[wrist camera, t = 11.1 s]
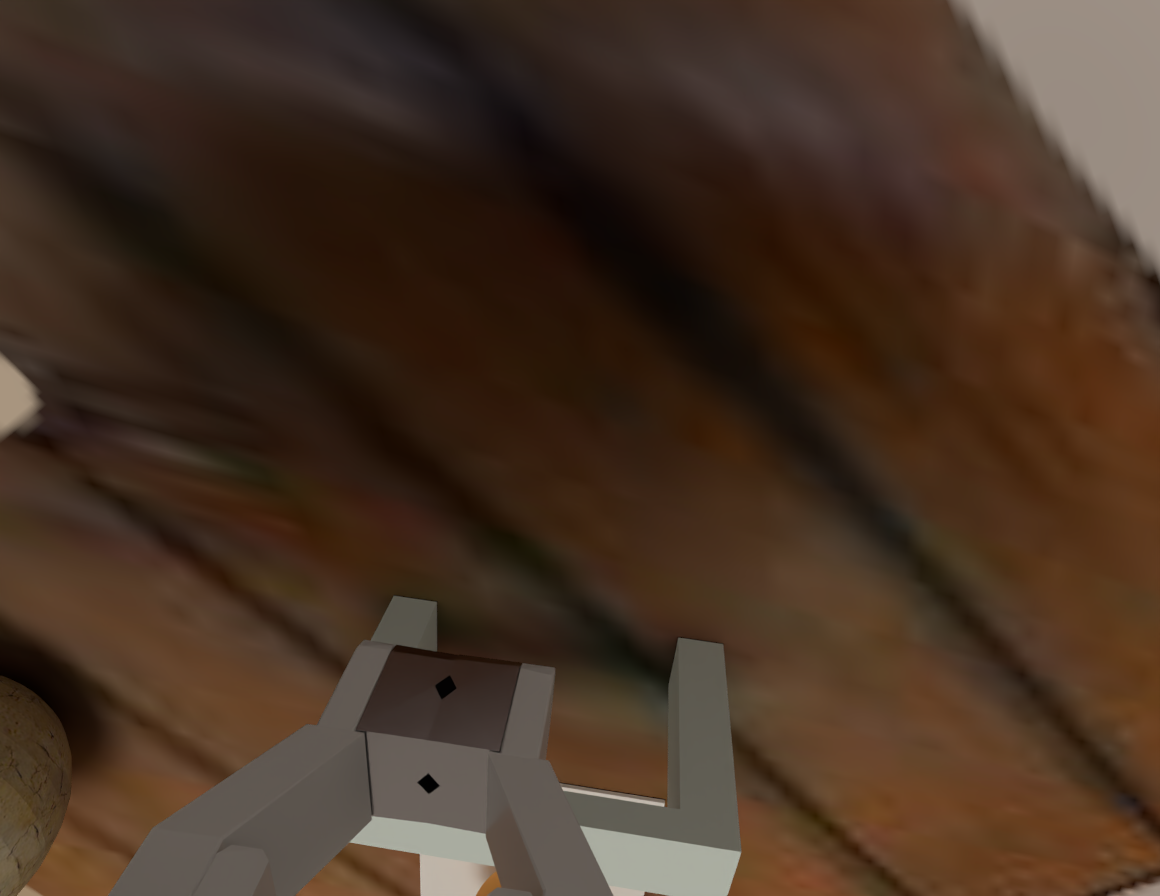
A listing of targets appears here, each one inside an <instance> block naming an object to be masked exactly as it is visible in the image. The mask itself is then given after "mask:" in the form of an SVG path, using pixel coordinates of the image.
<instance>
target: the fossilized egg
mask: <svg viewBox="0 0 1160 896" xmlns="http://www.w3.org/2000/svg"><path fill="white" fill-rule="evenodd" d="M71 781H72V755H71V751H70V747H69V743H68V740H67V736H66V733H65V731H64V728H63V726H62V724H61V722H60V720H59V718H58V717H57V715H56V714H55V713H54V711H53V710H52V709H51V708H50V707H49V706H48V705H47V704H46V703H45V702H44V701H43V700H42V699H41V698H40V697H39V696H38V695H37V694H35V693H34V692H33V691H31V690H30V689H28V688H26V687H25V686H23V685H21V684H19V683H17V682H15V681H13V680H11V679H9V678H6V677H4V676H1V675H0V896H17V894H18V893H19V892H20V891H21V890H22V889H23V887H24V886H25V885H26V884H27V883H28V881H29V880H30V879H31V878H32V876H33V875H34V874H35V872H36V871H37V870H38V869H39V867H40V866H41V864H42V862H43V860H44V859H45V857H46V855H47V853H48V852H49V850H50V848H51V846H52V844H53V842H54V840H55V838H56V836H57V834H58V832H59V830H60V828H61V825H62V822H63V819H64V816H65V813H66V810H67V806H68V802H69V799H70V795H71Z"/></svg>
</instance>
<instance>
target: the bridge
mask: <svg viewBox="0 0 1160 896" xmlns="http://www.w3.org/2000/svg"><path fill="white" fill-rule="evenodd" d="M371 641H375V642H381V643H387V644H393V645H402V646H408V647H414V648H419V649H425V650H431V651H437V602H434V601H427V600H420V599H413V598H406V597H400V596H393V598H392V600H391V602H390V604H389V606H388V608H387V610H386V612H385V614H384V616H383V618H382V620H381V622H380V623H379V625H378V627H377V629H376V631H375V633H374V635H373V637H372V639H371ZM563 792H564V794H565V796H566V798H567V800H568V802H569V804H570V806H571V808H572V810H573V812H574V814H575V817H576V819H577V821H578V823H579V825H580V827H581V829H582V831H583V833H584V835H585V837H586V839H587V842H588V844H589V846H590V848H591V850H592V852H593V854H594V856H595V858H596V860H597V862H598V864H599V866H600V869H601V871H602V873H603V875H604V877H605V879H606V881H607V883H608V885H609V886H615V887H621V888H627V889H633V890H639V891H645V892H651V893H657V894H663V895H669V896H727V895H728V892H729V889H730V886H731V883H732V879H733V876H734V873H735V870H736V867H737V864H738V861H739V858H740V855H741V843H740V831H739V820H738V808H737V797H736V785H735V774H734V762H733V751H732V739H731V728H730V716H729V705H728V693H727V682H726V670H725V659H724V647H723V644H719V643H712V642H706V641H699V640H692V639H685V638H678V642H677V647H676V651H675V656H674V661H673V666H672V671H671V676H670V680H669V685H668V807H662V806H656V805H650V804H644V803H637V802H631V801H625V800H619V799H612V798H606V797H600V796H594V795H587V794H581V793H575V792H568V791H563ZM350 842H351V843H357V844H363V845H369V846H375V847H381V848H387V849H393V850H399V851H405V852H411V853H417V854H423V855H429V856H435V857H441V858H447V859H453V860H459V861H465V862H471V863H477V864H483V865H489V866H495V865H494V862H493V859H492V856H491V853H490V849H489V846H488V843H487V840H486V834H483V833H478V832H473V831H467V830H462V829H457V828H451V827H446V826H440V825H435V824H430V823H422V822H414V821H406V820H398V819H391V818H383V817H375V816H372V820H371V821H370V822H369V823H368V824H367V825H366V826H365V827H364V828H363V829H362V830H361V831H360V832H359V833H358V834H357V835H356V836H355V837H354V838H353V839H352V840H351V841H350Z"/></svg>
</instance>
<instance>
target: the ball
mask: <svg viewBox="0 0 1160 896" xmlns="http://www.w3.org/2000/svg"><path fill="white" fill-rule="evenodd" d="M497 887H499V888H501V884H500V881H499V878H498V875H497V872H494V873H493V874H492V875H491V876H490V877H489V878H488V879H487V880H486V881H485V882H484V884H483V885H482V886H481V888H480V889H479V891H478V892H477V894H476V896H487V895H488V894H489V893H491V892H492V891H493V890H495V889H496V888H497Z"/></svg>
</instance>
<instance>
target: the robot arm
mask: <svg viewBox="0 0 1160 896" xmlns="http://www.w3.org/2000/svg"><path fill="white" fill-rule="evenodd" d="M554 681H555V668H554V667H547V666H540V665H532V664H525V663H523V664H522V663H520V662H512V661H504V660H497V659H489V658H482V657H474V656H467V655H454V654H449V653H443V652H437V651H431V650H425V649H419V648H414V647H408V646H402V645H393V644H387V643H381V642H375V641H369V640H364V641H363V642H362V643H361V644H360V645H359V646H358V647H357V648H356V650H355V652H354V654H353V656H352V658H351V660H350V661H349V663H348V665H347V667H346V669H345V671H344V673H343V675H342V677H341V679H340V681H339V683H338V685H337V687H336V689H335V691H334V693H333V695H332V696H331V698H330V700H329V702H328V704H327V706H326V708H325V710H324V712H323V714H322V716H321V718H320V720H319V722H318V724H317V725H310V724H306V725H305V726H303V727H302V728H300V729H299V730H297V731H296V732H295V733H293V734H292V735H290V736H289V737H287V738H286V739H284V740H283V741H281V742H280V743H278V744H277V745H275V746H274V747H272V748H271V749H269V750H268V751H266V752H265V753H263V754H262V755H260V756H259V757H257V758H256V759H254V760H253V761H251V762H250V763H248V764H247V765H246V766H244V767H243V768H241V769H240V770H238V771H237V772H235V773H234V774H232V775H231V776H229V777H228V778H226V779H225V780H223V781H222V782H220V783H219V784H217V785H216V786H214V787H213V788H211V789H210V790H208V791H207V792H205V793H204V794H202V795H201V796H199V797H198V798H196V799H195V800H194V801H192V802H191V803H189V804H188V805H186V806H185V807H183V808H182V809H180V810H179V811H177V812H176V813H174V814H173V815H171V816H170V817H168V818H167V819H165V820H164V821H162V822H161V823H159V824H158V825H156V826H155V827H153V828H152V830H151V831H150V833H149V834H148V836H147V837H146V839H145V840H144V842H143V843H142V845H141V846H140V848H139V849H138V851H137V852H136V854H135V855H134V857H133V858H132V860H131V861H130V863H129V865H128V866H127V868H126V869H125V871H124V872H123V874H122V875H121V877H120V878H119V880H118V881H117V883H116V884H115V886H114V887H113V889H112V890H111V892H110V893H109V895H108V896H295V895H296V894H297V893H298V892H299V891H300V890H301V889H302V888H303V887H304V886H305V885H306V884H307V883H308V882H309V881H310V880H311V879H312V878H313V877H314V876H315V875H316V874H317V873H318V872H319V871H320V870H321V869H322V868H323V867H324V866H325V865H326V864H327V863H328V862H330V861H331V860H332V859H333V858H334V857H335V856H336V855H337V854H338V853H339V852H340V851H341V850H342V849H343V848H344V847H345V846H346V845H347V844H348V843H349V842H350V841H351V840H352V839H353V838H354V837H355V836H356V835H357V834H358V833H359V832H360V831H361V830H362V829H363V828H364V827H365V826H366V825H367V824H368V823H369V822H370V821H371V820H372V816H375V817H383V818H391V819H398V820H406V821H414V822H422V823H430V824H435V825H440V826H446V827H451V828H457V829H462V830H467V831H473V832H478V833H483V834H486V840H487V843H488V846H489V849H490V853H491V856H492V859H493V862H494V865H495V868H496V872H497V875H498V878H499V881H500V884H501V888H499V887H497V888H496V889H495V890H493V891H492V892H491V893H489V894H488V895H487V896H613V894H612V891H611V889H610V887H609V885H608V883H607V881H606V879H605V877H604V875H603V873H602V871H601V869H600V866H599V864H598V862H597V860H596V858H595V856H594V854H593V852H592V850H591V848H590V846H589V844H588V842H587V839H586V837H585V835H584V833H583V831H582V829H581V827H580V825H579V823H578V821H577V819H576V817H575V814H574V812H573V810H572V808H571V806H570V804H569V802H568V800H567V798H566V796H565V794H564V792H563V789H562V787H561V785H560V783H559V781H558V779H557V777H556V775H555V773H554V771H553V769H552V767H551V764H550V762H549V761H547V760H545V759H546V753H547V744H548V736H549V728H550V720H551V710H552V701H553V691H554Z"/></svg>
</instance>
